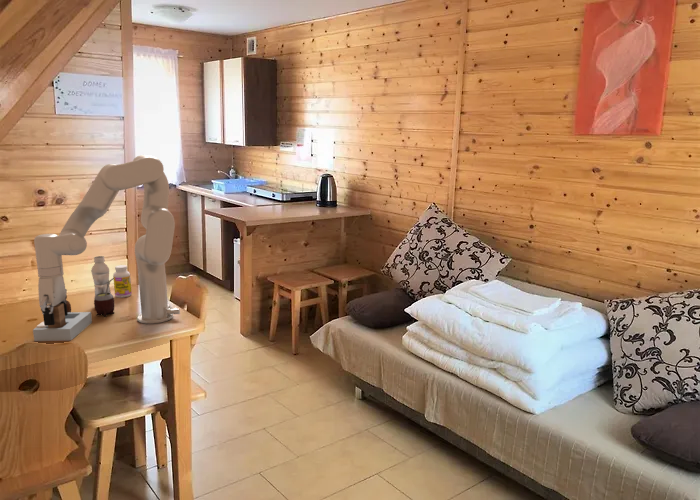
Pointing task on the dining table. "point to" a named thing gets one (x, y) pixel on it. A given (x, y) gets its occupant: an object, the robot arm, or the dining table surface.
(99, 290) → the plastic bottle
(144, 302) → the robot arm
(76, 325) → the socket board
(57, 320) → the plug
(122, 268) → the supplement bottle
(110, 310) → the mate gourd
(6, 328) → the dining table surface
